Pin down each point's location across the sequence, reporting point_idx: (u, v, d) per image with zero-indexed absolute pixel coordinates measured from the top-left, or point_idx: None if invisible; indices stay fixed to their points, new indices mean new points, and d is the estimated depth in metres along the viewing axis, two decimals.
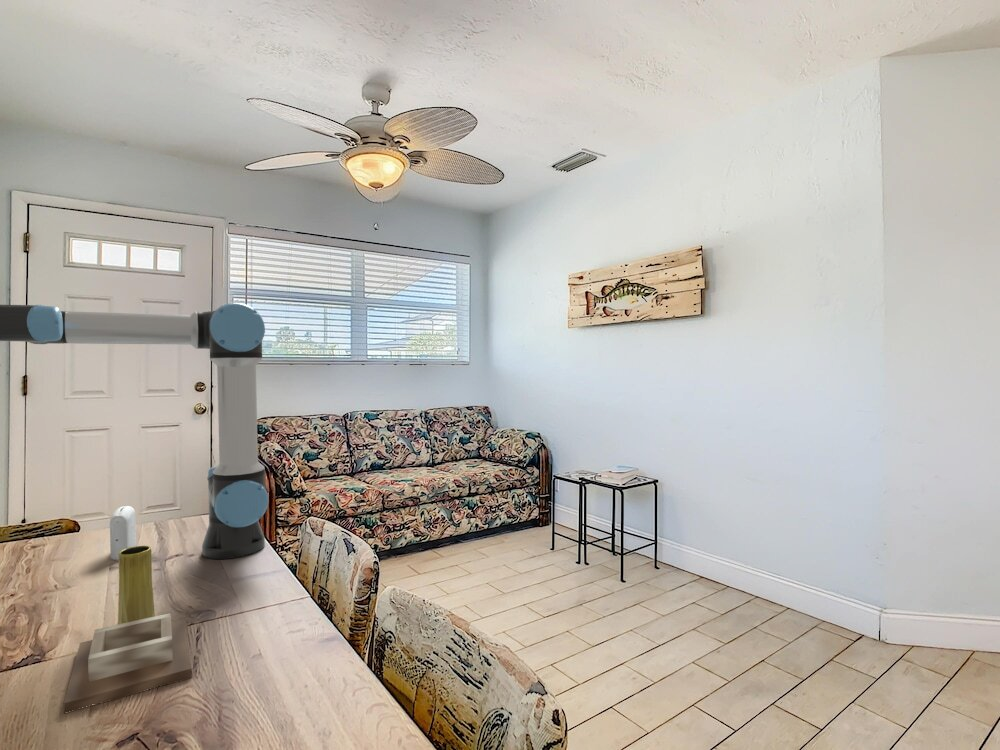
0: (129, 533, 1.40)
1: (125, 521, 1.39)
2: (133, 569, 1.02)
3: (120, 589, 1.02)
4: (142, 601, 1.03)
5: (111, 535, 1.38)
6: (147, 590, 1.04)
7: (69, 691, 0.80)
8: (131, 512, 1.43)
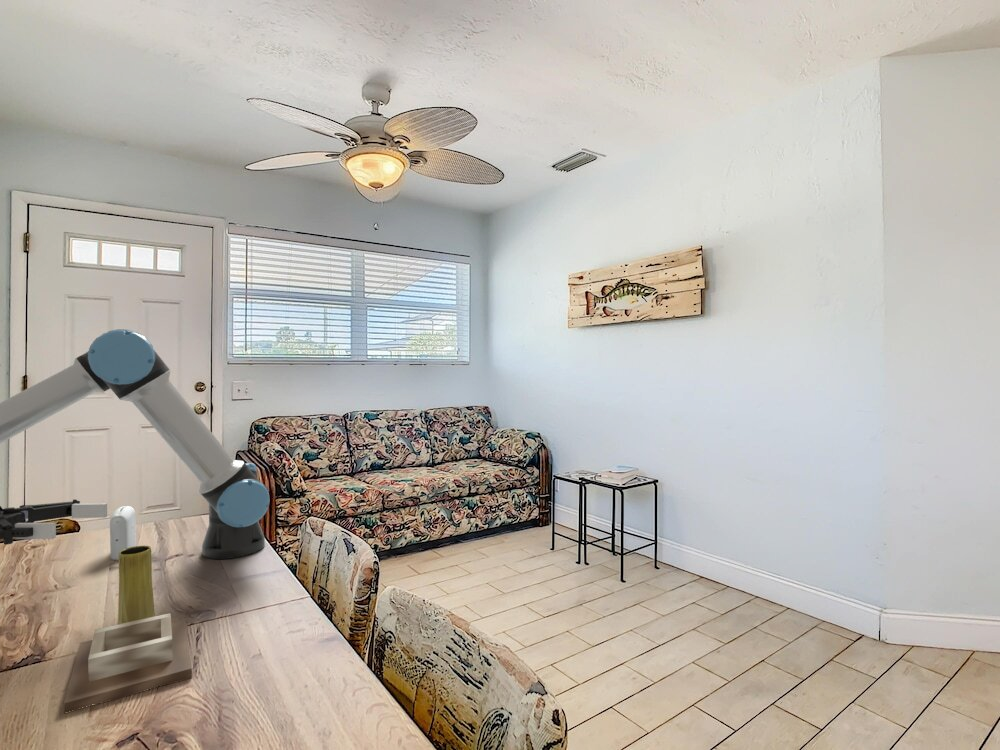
0: (129, 533, 1.40)
1: (125, 521, 1.39)
2: (133, 569, 1.02)
3: (120, 589, 1.02)
4: (142, 601, 1.03)
5: (111, 535, 1.38)
6: (147, 590, 1.04)
7: (69, 691, 0.80)
8: (131, 512, 1.43)
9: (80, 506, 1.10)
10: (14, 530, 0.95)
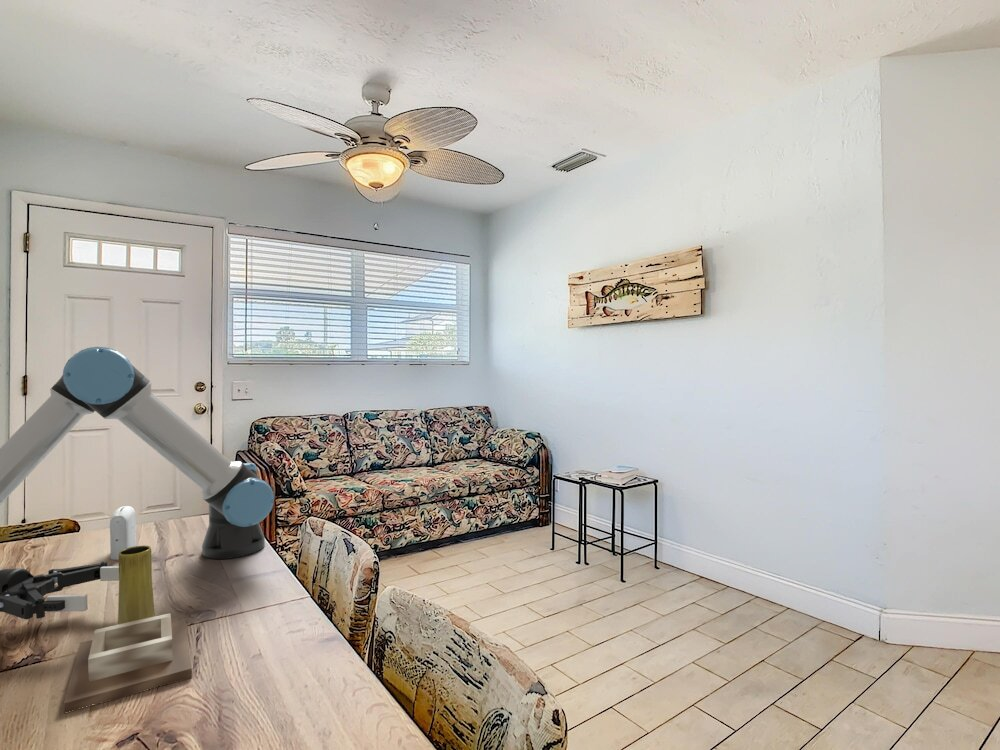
0: (129, 533, 1.40)
1: (125, 521, 1.39)
2: (133, 569, 1.02)
3: (120, 589, 1.02)
4: (142, 601, 1.03)
5: (111, 535, 1.38)
6: (147, 590, 1.04)
7: (69, 691, 0.80)
8: (131, 512, 1.43)
9: (108, 569, 1.10)
10: (46, 603, 0.95)
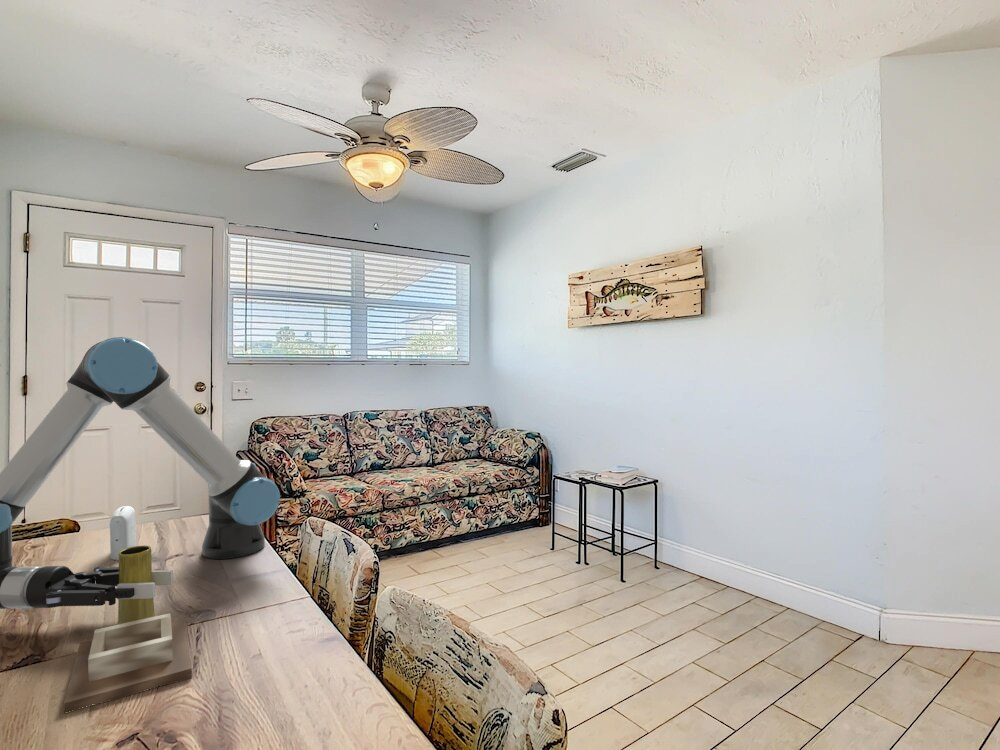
0: (129, 533, 1.40)
1: (125, 521, 1.39)
2: (133, 569, 1.02)
3: None
4: (142, 601, 1.03)
5: (111, 535, 1.38)
6: None
7: (69, 691, 0.80)
8: (131, 512, 1.43)
9: None
10: (117, 591, 1.00)
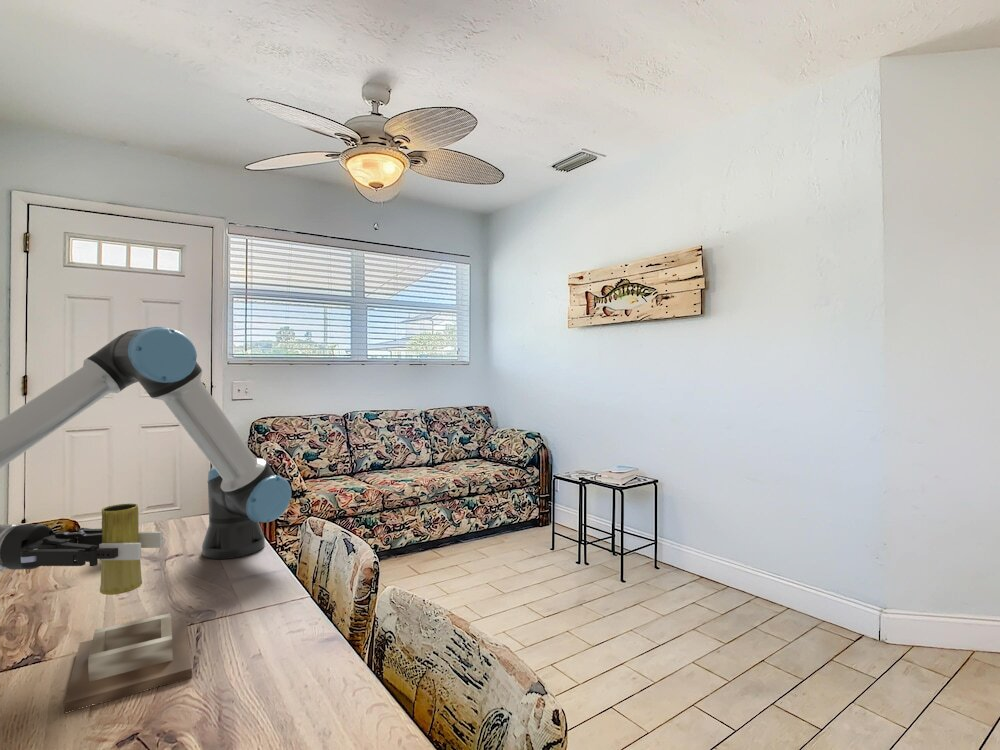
0: None
1: None
2: (117, 527, 0.92)
3: None
4: (127, 563, 0.93)
5: None
6: None
7: (69, 691, 0.80)
8: None
9: None
10: (99, 551, 0.90)
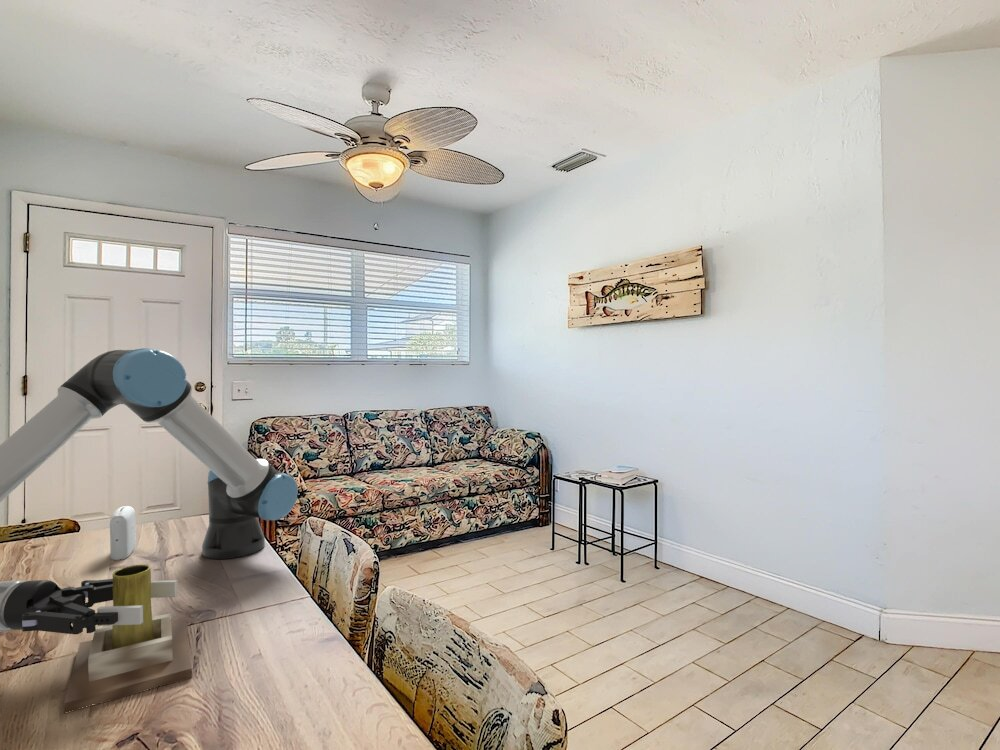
0: (129, 533, 1.40)
1: (125, 521, 1.39)
2: (129, 593, 0.88)
3: None
4: (140, 630, 0.89)
5: (111, 535, 1.38)
6: (146, 617, 0.90)
7: (69, 691, 0.80)
8: (131, 512, 1.43)
9: None
10: (97, 616, 0.83)
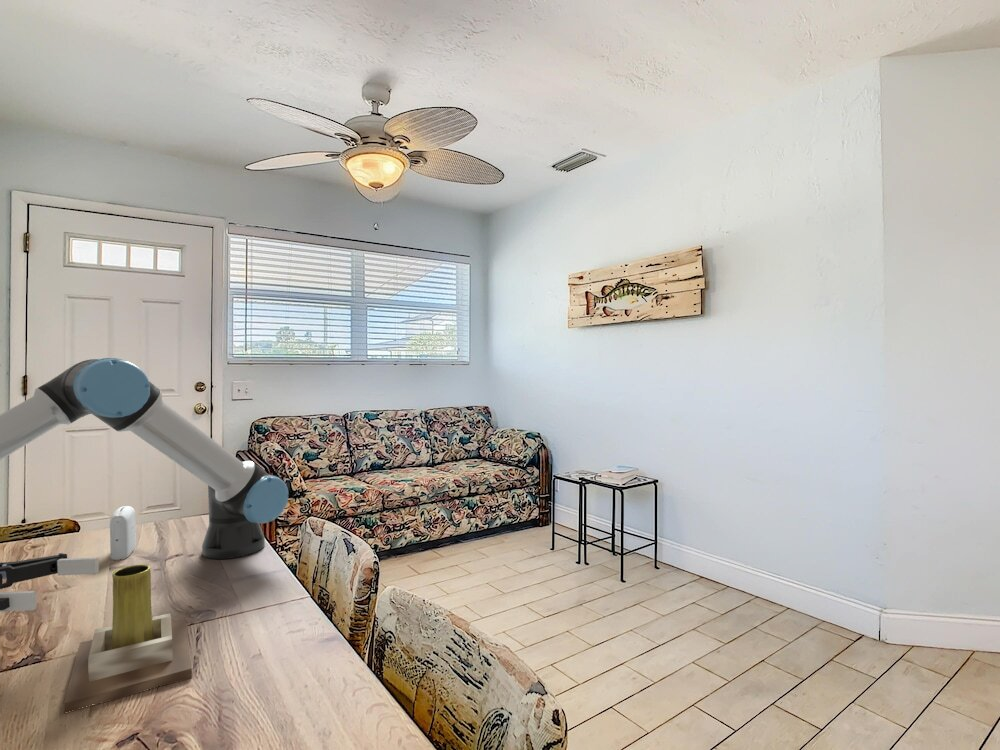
0: (129, 533, 1.40)
1: (125, 521, 1.39)
2: (129, 593, 0.88)
3: (114, 616, 0.88)
4: (139, 630, 0.89)
5: (111, 535, 1.38)
6: (146, 617, 0.90)
7: (69, 691, 0.80)
8: (131, 512, 1.43)
9: (67, 562, 0.95)
10: None
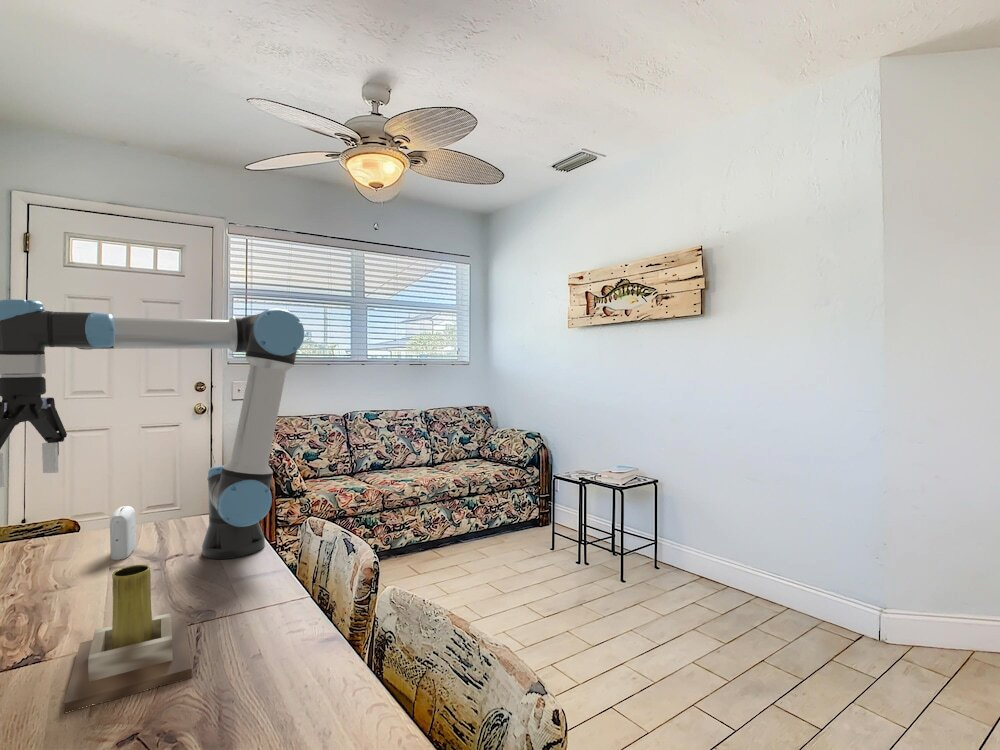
0: (129, 533, 1.40)
1: (125, 521, 1.39)
2: (129, 593, 0.88)
3: (114, 616, 0.88)
4: (139, 630, 0.89)
5: (111, 535, 1.38)
6: (145, 617, 0.90)
7: (69, 691, 0.80)
8: (131, 512, 1.43)
9: (53, 450, 1.17)
10: None
